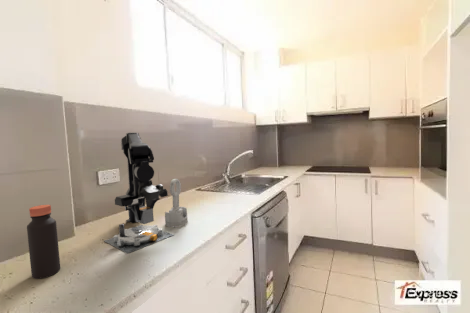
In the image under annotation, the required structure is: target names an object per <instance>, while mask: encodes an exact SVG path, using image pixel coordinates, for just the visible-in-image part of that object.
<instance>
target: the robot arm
mask: <svg viewBox="0 0 470 313" xmlns="http://www.w3.org/2000/svg"><path fill="white" fill-rule="evenodd" d="M120 146H121V150H122V153H123V155H124V157H126V160H127V162H126V163H127V175H128V176H127V177H128V178H127V180H128V189H127V190H126V192H125V194H123V195H119V196H116V197H115V199H114V205H116V206H118V207H119V206H120V207H124V210H125V211H128V219H126V220H125V222H128V223H131V224H135V223H137V222H136V220H135V216H136V218H137V219H138V220H140V209H139V207H143V206H146V207H150V208H153V209H154V207H155V205H156V203H157V202H158V201H160V200H161V199H160V197H161V198H165V197H168V196H169V195H168V194H169V192H168V190H167V189H166V188H164V185H163V184H162V183H159V184H156V185H154V184H153V180H152V179H153V178H154V176H155V170H154V168H153V167H152V166H151V165H150V163H151V164H152V163H154V160H155V157H154V153H153V150H152V149H151V148H152V147H150V146H149V144H148V143H146V142H145V143H144V142H142V137H140V133H139V132H127V133H125V136H124V137H122V138H121V140H120Z"/></svg>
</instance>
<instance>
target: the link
mask: <svg viewBox="0 0 470 313" xmlns="http://www.w3.org/2000/svg"><path fill="white" fill-rule="evenodd" d="M139 209H140V220H138V219H137V218H136V216H135V220H136V222H135V223H139V224H141V225H147V224H149V223H152V222H154V221H155V220H154V208H150V207H147V206H146V205H145V206H143V207H139Z"/></svg>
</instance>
